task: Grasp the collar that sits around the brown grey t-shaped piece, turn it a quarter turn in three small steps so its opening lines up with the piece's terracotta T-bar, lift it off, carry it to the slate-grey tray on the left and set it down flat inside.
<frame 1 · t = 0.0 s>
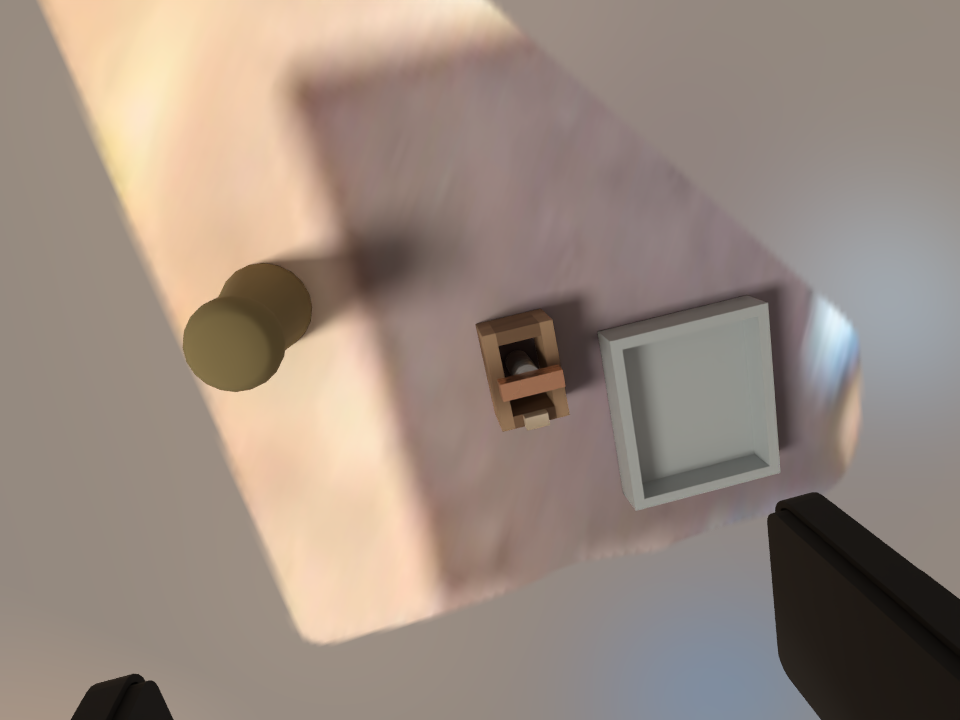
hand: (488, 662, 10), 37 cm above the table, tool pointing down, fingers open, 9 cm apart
tray: (683, 397, 50), on the table
collar: (517, 361, 47), on the table
cork: (266, 307, 44), on the table
brown grey t-shaped piece: (517, 361, 47), on the table
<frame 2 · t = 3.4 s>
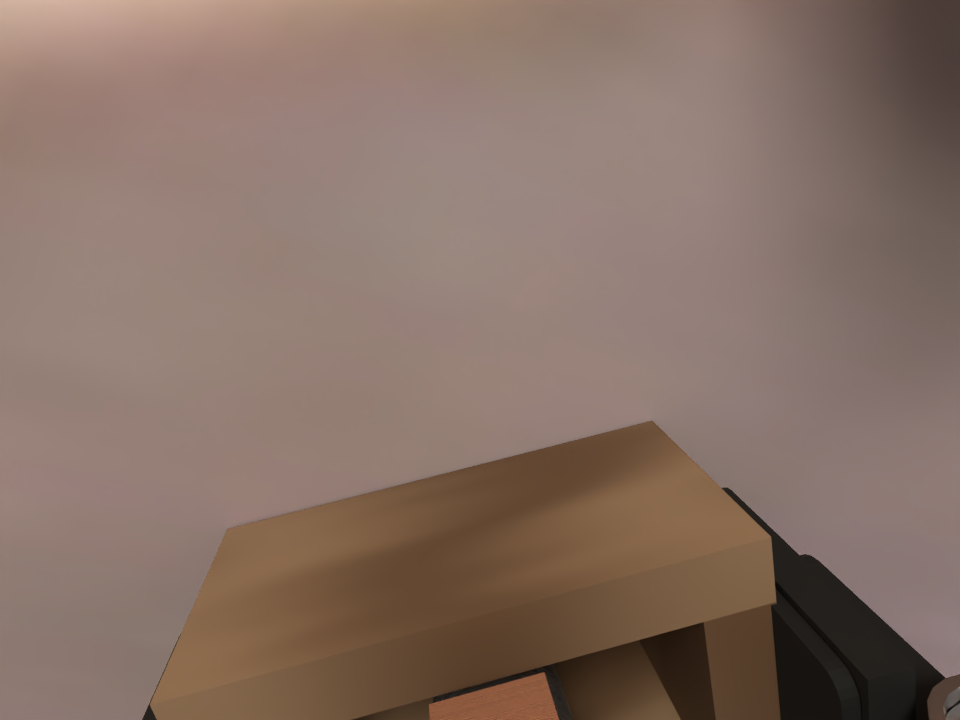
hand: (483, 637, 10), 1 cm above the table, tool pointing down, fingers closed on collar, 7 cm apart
collar: (475, 596, 11), on the table, touching gripper
brown grey t-shaped piece: (477, 595, 11), on the table
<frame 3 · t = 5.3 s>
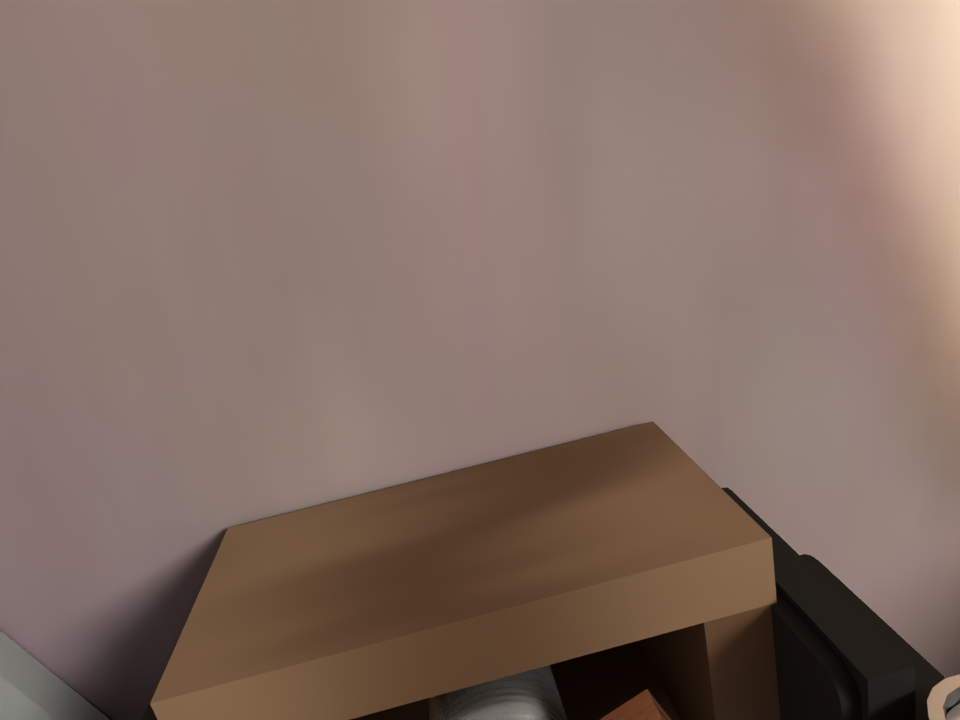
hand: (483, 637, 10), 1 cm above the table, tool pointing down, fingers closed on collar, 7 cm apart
collar: (475, 596, 11), on the table, touching gripper
brown grey t-shaped piece: (470, 590, 11), on the table
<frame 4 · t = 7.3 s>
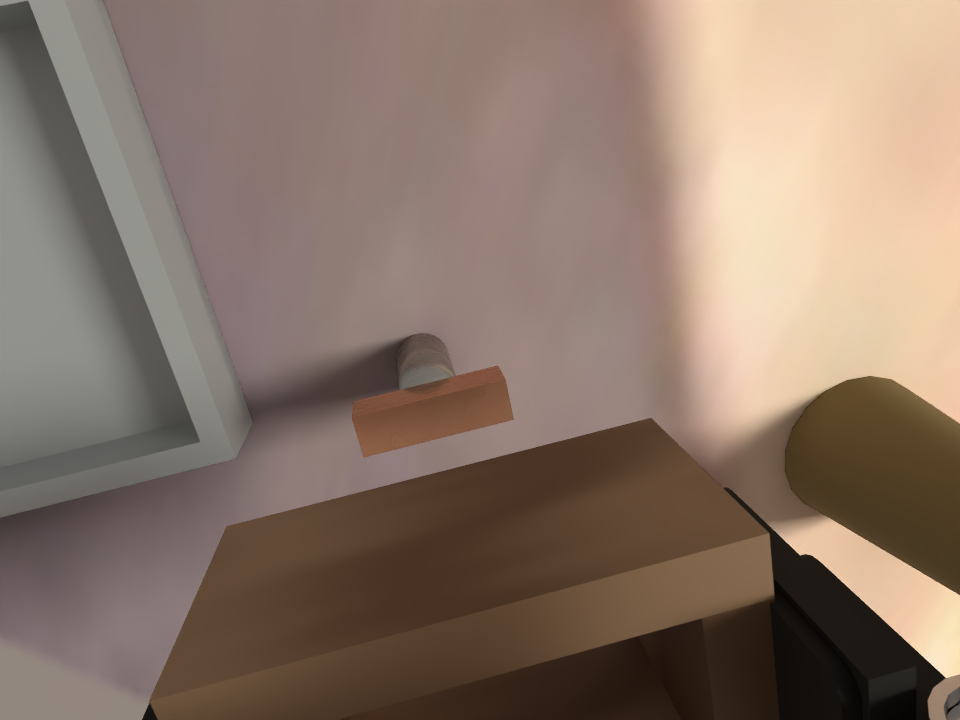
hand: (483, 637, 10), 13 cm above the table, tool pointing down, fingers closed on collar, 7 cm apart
collar: (474, 593, 11), point 12 cm above the table, touching gripper
cork: (851, 444, 27), on the table
brown grey t-shaped piece: (422, 358, 23), on the table
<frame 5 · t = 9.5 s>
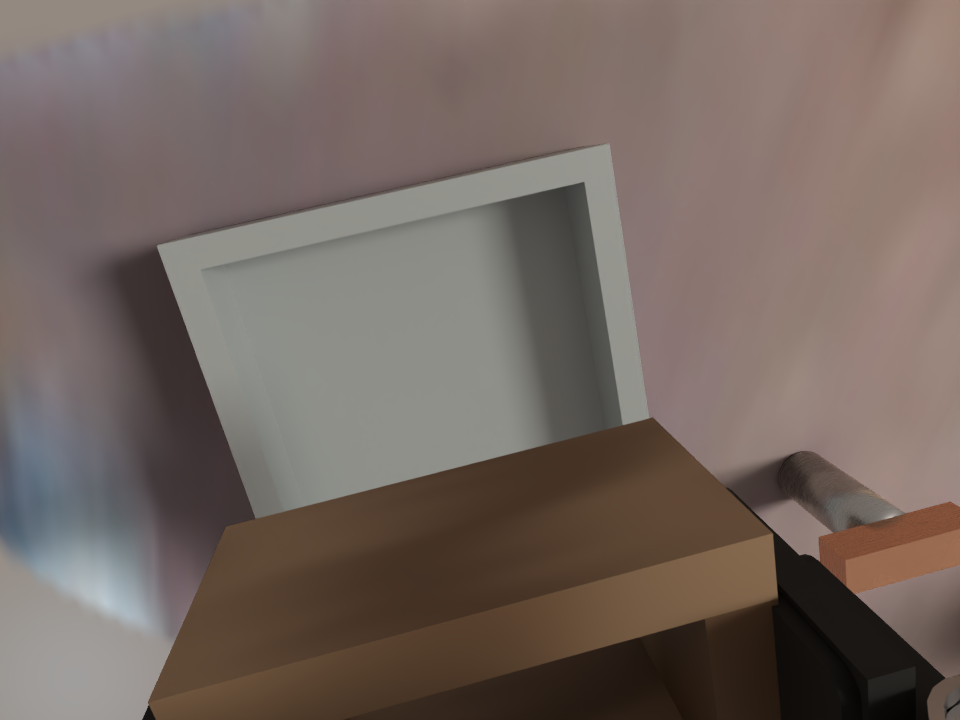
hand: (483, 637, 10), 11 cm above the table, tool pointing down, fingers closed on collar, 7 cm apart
tray: (441, 402, 21), on the table
collar: (475, 593, 11), point 10 cm above the table, touching gripper
brown grey t-shaped piece: (801, 474, 24), on the table
when the fingers open (3 cm above the table, at t = 11.4 s): collar drops 2 cm, resting on tray.
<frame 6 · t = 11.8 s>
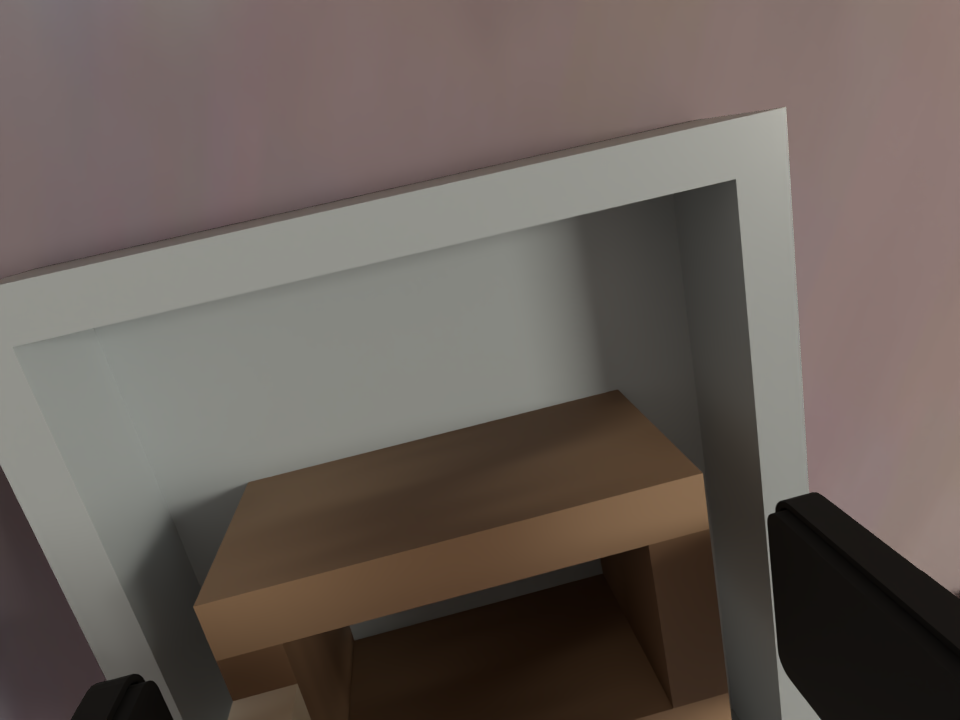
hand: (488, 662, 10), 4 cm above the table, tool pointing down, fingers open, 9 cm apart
tray: (461, 527, 13), on the table
collar: (464, 544, 13), point 1 cm above the table, touching tray
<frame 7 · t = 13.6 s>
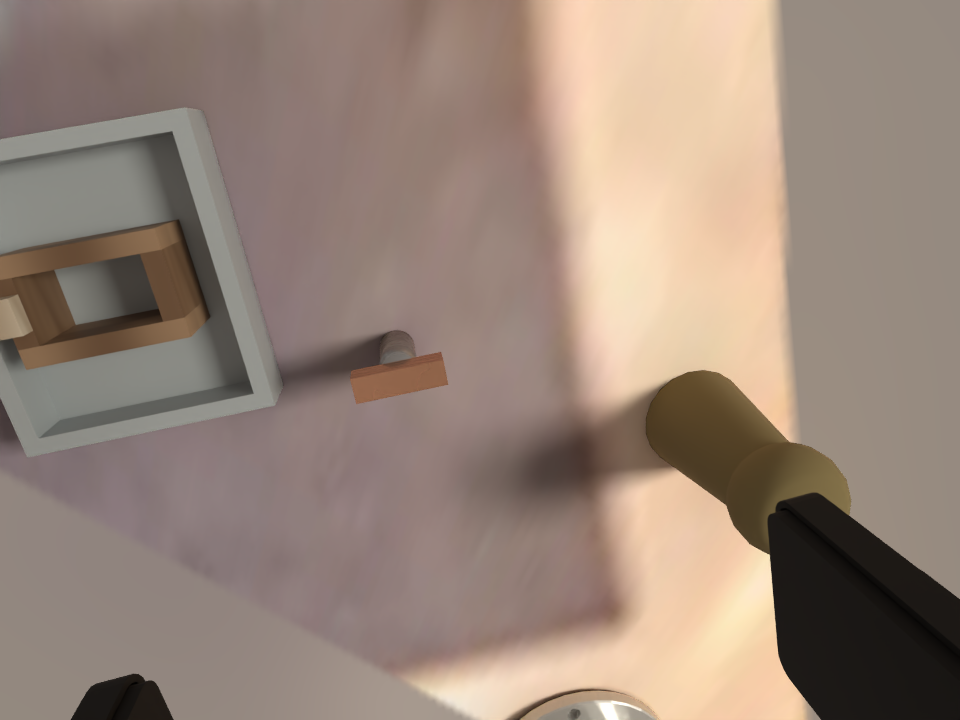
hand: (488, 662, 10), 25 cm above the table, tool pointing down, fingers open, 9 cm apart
tray: (125, 280, 31), on the table
collar: (120, 283, 31), point 1 cm above the table, touching tray
cork: (693, 417, 38), on the table
brown grey t-shaped piece: (397, 346, 34), on the table
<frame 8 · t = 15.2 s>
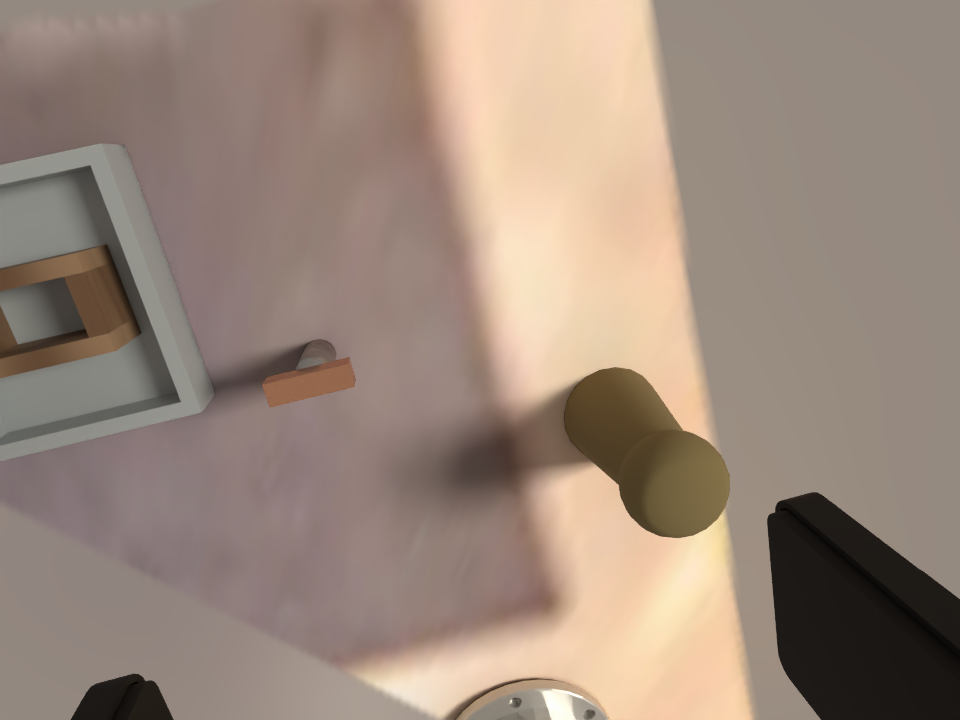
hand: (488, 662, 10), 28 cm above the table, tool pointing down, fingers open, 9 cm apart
tray: (62, 302, 34), on the table
collar: (56, 305, 34), point 1 cm above the table, touching tray
cork: (610, 412, 41), on the table
brown grey t-shaped piece: (319, 354, 37), on the table
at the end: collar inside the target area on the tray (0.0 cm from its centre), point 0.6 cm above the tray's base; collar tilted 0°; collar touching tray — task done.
